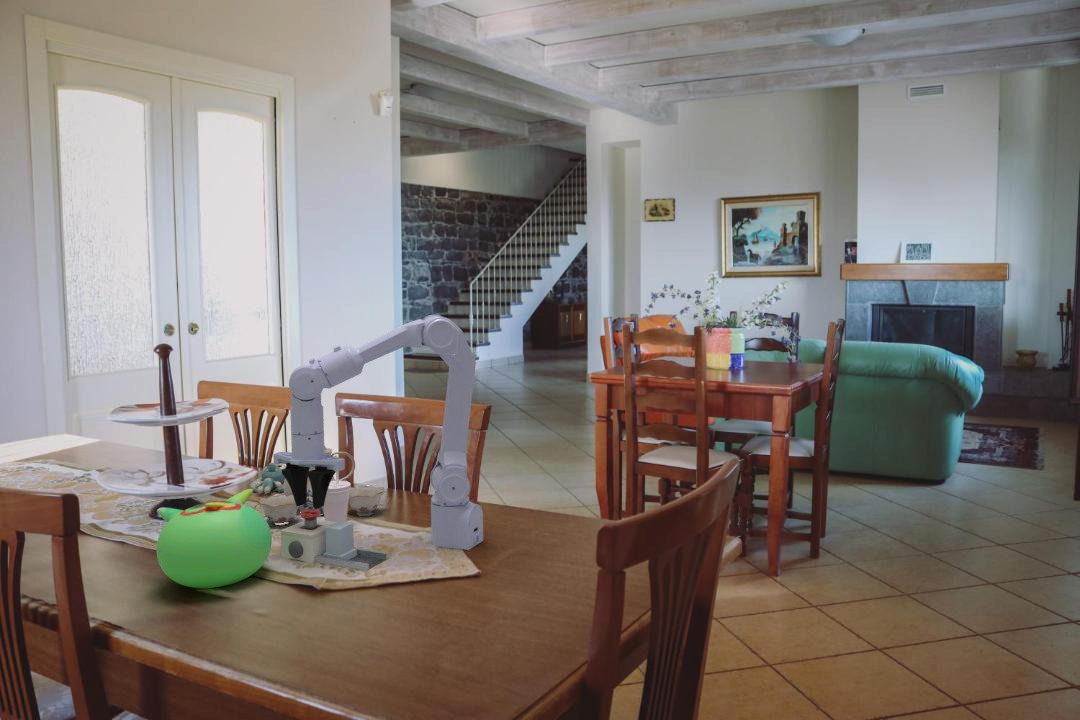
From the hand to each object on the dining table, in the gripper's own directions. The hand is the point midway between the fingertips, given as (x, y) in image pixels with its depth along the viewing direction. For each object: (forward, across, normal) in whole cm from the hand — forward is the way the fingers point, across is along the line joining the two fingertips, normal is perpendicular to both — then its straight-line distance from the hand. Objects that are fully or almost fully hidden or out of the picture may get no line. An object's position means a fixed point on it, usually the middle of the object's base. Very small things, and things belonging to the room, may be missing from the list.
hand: (310, 505), depth 153 cm
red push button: (+6, 0, 0) cm, 6 cm away
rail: (+10, +9, 0) cm, 13 cm away
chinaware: (+10, -16, +24) cm, 30 cm away
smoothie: (+10, -6, +15) cm, 19 cm away
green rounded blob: (+10, -7, -16) cm, 20 cm away
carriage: (+9, +6, 0) cm, 11 cm away
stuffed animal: (+10, -40, +35) cm, 54 cm away
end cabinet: (+10, 0, 0) cm, 10 cm away
